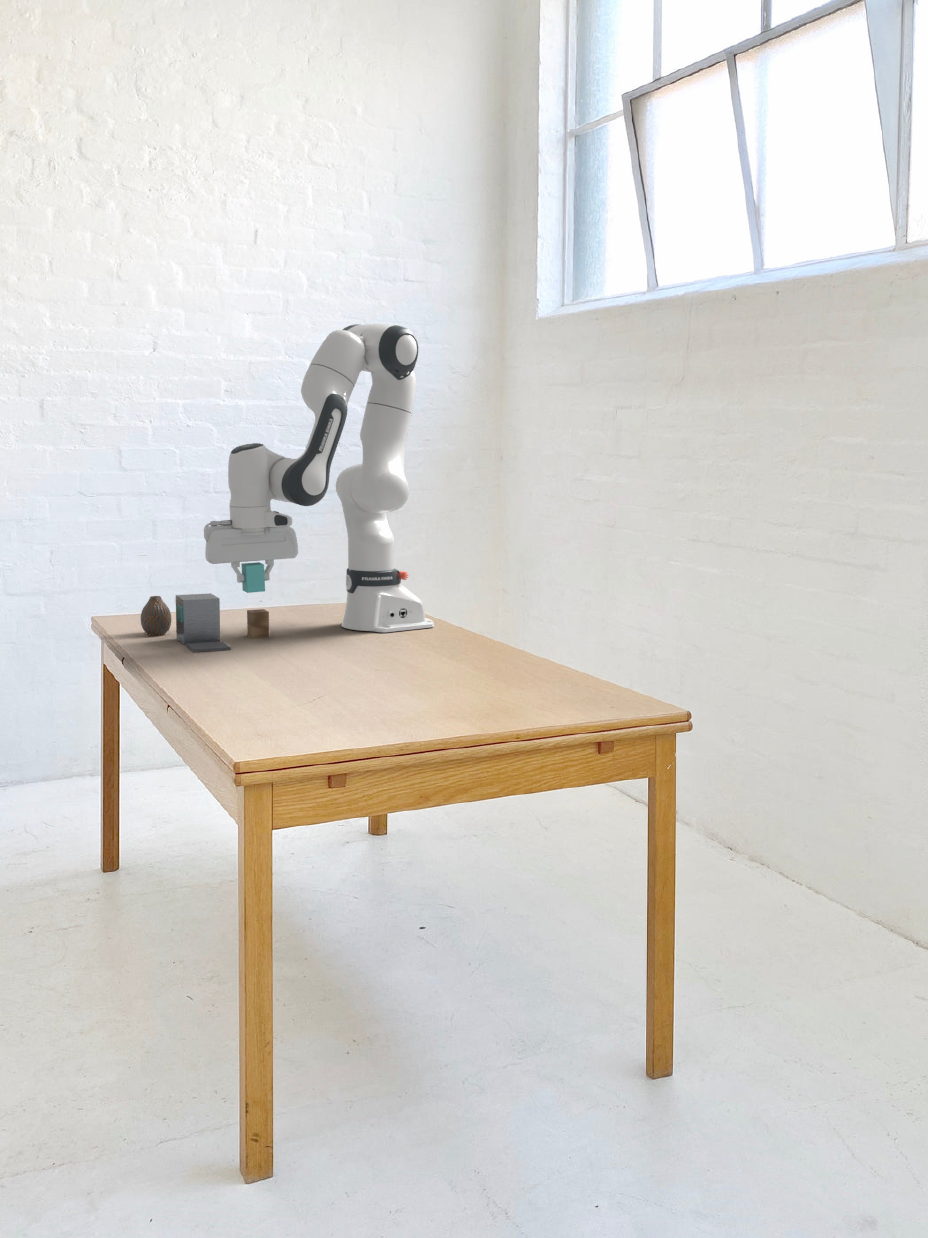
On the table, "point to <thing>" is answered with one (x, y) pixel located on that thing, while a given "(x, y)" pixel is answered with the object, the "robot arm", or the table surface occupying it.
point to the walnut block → (258, 623)
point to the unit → (197, 618)
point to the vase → (156, 617)
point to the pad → (208, 646)
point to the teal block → (253, 577)
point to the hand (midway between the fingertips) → (253, 581)
